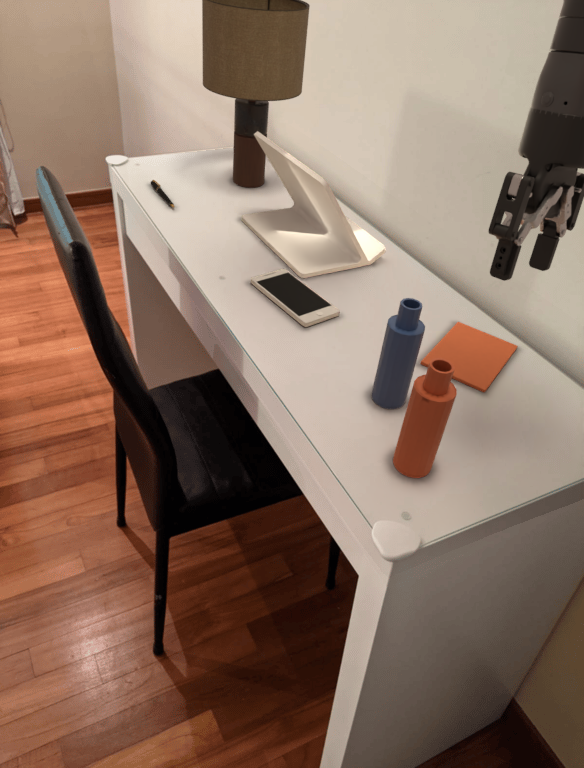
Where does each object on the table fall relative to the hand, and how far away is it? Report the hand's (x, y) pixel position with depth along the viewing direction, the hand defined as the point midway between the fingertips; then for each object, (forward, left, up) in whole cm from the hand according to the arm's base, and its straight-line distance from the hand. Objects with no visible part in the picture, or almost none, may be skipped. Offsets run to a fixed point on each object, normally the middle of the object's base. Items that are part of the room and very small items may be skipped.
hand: (519, 273), depth 66 cm
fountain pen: (+77, -24, -23) cm, 84 cm away
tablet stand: (+44, -30, -23) cm, 58 cm away
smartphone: (+34, -10, -22) cm, 42 cm away
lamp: (+70, -44, -23) cm, 86 cm away
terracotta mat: (+5, -15, -22) cm, 27 cm away
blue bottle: (+10, +2, -22) cm, 25 cm away
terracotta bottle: (+2, +11, -22) cm, 25 cm away
